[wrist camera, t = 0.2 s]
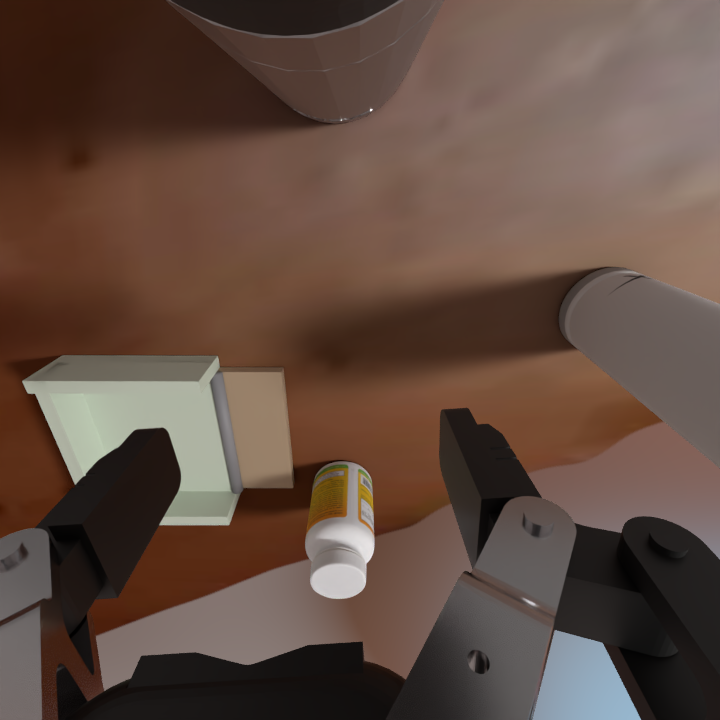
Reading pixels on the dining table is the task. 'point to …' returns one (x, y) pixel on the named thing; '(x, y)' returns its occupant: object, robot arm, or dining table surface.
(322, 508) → the supplement bottle
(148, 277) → the dining table surface
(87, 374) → the tray
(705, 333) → the travel mug
